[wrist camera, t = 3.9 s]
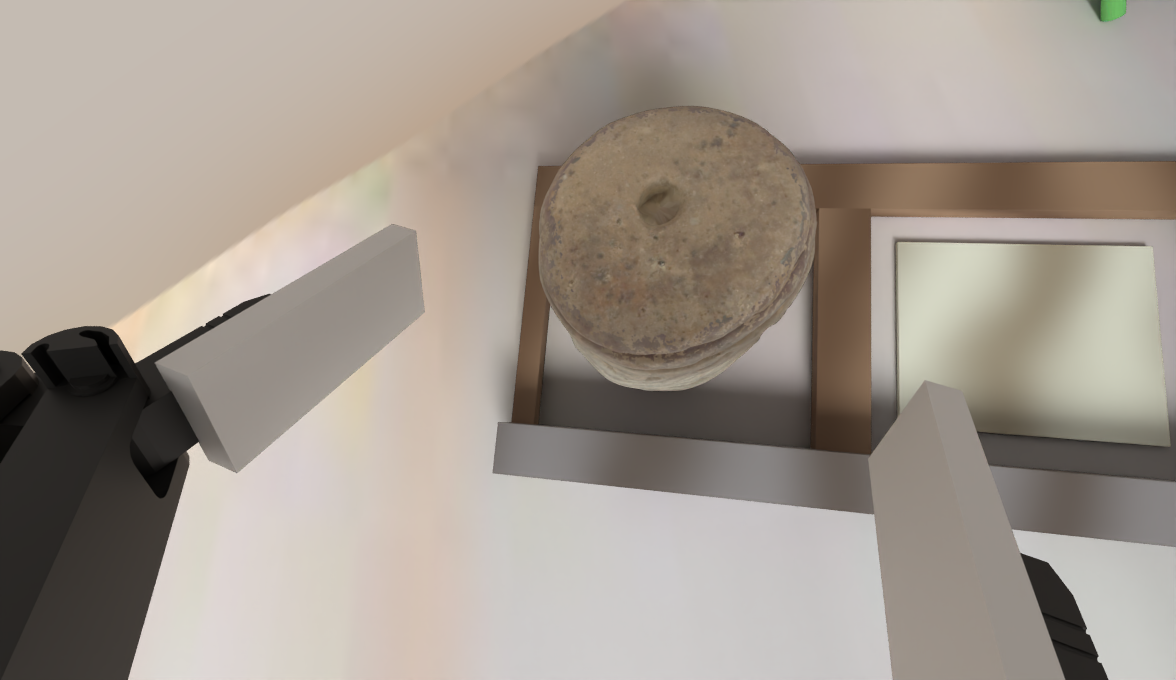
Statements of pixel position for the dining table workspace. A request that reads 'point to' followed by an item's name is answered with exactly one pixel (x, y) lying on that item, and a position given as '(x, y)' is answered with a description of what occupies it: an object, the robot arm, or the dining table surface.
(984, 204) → the rail board
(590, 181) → the carving
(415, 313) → the robot arm
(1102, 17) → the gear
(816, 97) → the dining table surface
